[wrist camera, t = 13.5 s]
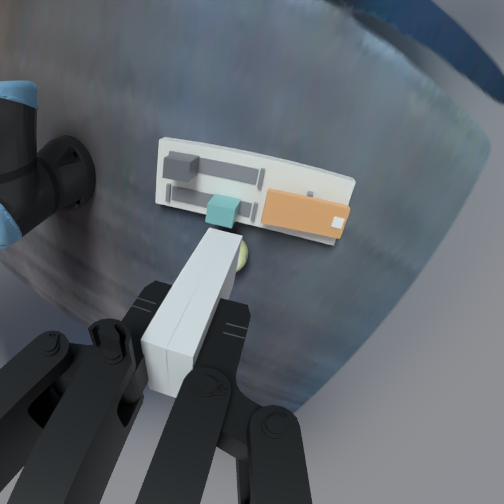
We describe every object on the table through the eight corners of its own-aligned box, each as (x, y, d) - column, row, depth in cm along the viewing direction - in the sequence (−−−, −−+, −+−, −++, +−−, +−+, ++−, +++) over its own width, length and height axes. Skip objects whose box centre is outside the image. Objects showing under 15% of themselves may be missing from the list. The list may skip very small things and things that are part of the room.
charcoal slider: (173, 170, 43) (162, 177, 40) (175, 151, 42) (163, 158, 38) (197, 174, 43) (187, 182, 40) (199, 155, 42) (189, 162, 38)
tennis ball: (227, 288, 48) (248, 261, 44) (194, 264, 48) (212, 235, 44) (240, 269, 53) (259, 243, 50) (210, 247, 53) (227, 220, 50)
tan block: (261, 219, 43) (260, 223, 42) (268, 187, 40) (267, 191, 39) (338, 234, 44) (340, 239, 43) (348, 205, 41) (350, 209, 40)
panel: (160, 198, 49) (151, 206, 46) (164, 137, 43) (155, 141, 40) (332, 239, 47) (334, 250, 45) (353, 178, 42) (357, 185, 39)
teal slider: (213, 211, 46) (205, 222, 43) (215, 193, 44) (207, 203, 41) (237, 216, 46) (231, 228, 42) (240, 199, 44) (234, 209, 41)
